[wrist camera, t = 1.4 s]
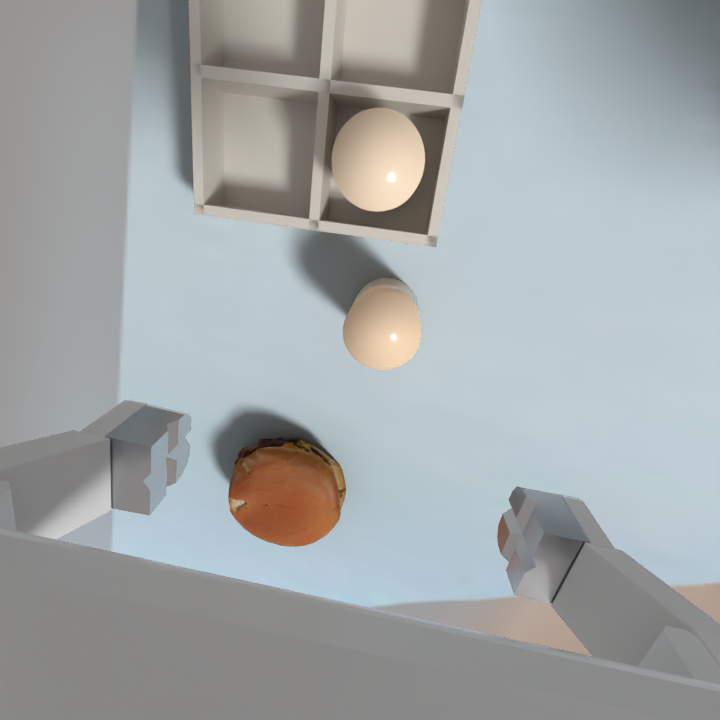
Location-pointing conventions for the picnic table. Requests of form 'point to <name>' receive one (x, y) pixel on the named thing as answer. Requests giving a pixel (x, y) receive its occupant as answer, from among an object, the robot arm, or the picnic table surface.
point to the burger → (286, 492)
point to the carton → (322, 105)
